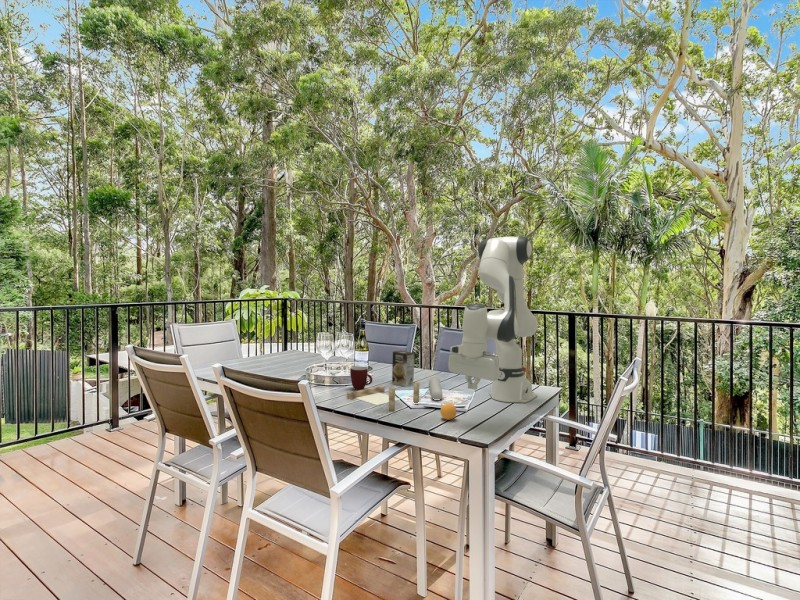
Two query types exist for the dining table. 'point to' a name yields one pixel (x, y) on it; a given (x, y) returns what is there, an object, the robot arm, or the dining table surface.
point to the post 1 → (391, 399)
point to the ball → (448, 411)
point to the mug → (359, 377)
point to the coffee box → (403, 368)
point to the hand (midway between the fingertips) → (472, 388)
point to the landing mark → (376, 398)
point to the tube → (435, 388)
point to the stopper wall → (365, 392)
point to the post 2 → (416, 392)
